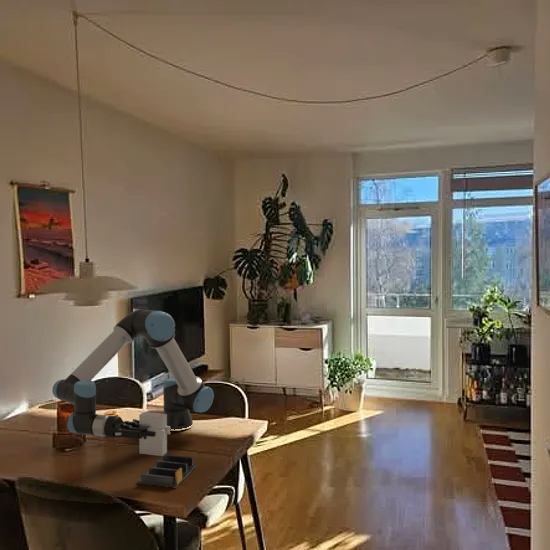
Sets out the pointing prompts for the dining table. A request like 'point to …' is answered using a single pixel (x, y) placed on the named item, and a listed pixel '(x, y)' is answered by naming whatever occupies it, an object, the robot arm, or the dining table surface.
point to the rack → (168, 471)
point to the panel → (151, 443)
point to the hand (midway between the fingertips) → (167, 432)
